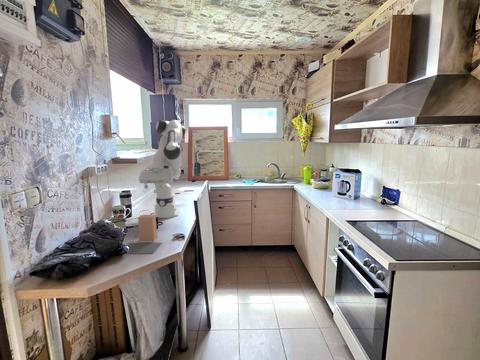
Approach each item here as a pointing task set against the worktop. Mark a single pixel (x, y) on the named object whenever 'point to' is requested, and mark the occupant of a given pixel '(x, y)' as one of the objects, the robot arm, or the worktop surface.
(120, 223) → the food container
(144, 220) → the terracotta block
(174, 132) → the robot arm
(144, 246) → the mat
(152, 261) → the worktop surface
